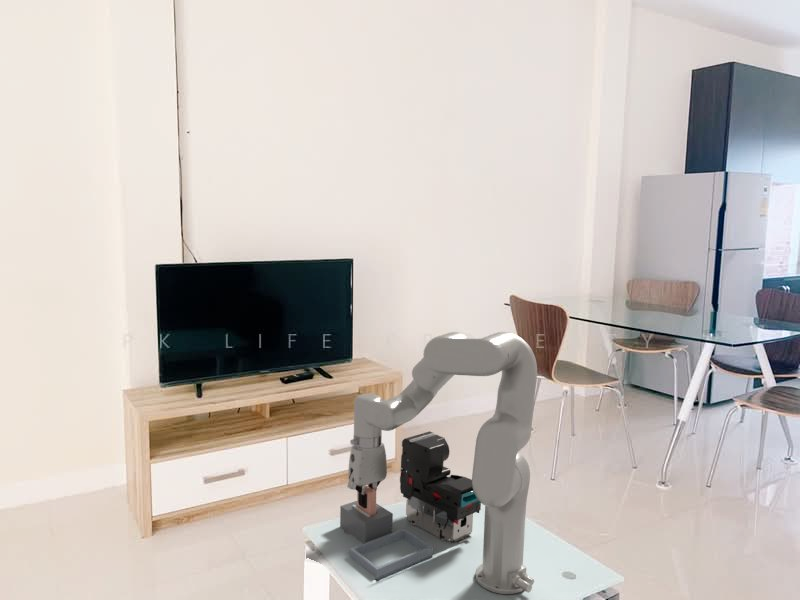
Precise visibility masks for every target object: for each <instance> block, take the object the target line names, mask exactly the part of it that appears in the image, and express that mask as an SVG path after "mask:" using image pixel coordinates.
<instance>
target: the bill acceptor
mask: <svg viewBox="0 0 800 600" xmlns="http://www.w3.org/2000/svg"><path fill="white" fill-rule="evenodd" d="M401 447H402V450H401V451H402V453H401V456H400V457H401V458H400V475H399V483H400V486H399V489H400V493H401V494H402V497H403V498H405V499H406V501H405V503H406V505H405V516H406V520H407V521H409V522H410V525H412V526H416V527H417V528H420V529H422V530H424V531H425V532H428V534H429V533H430V534H432V536H433V535H434V536H436V537H437V538H439V540H441V541H443V542H446V541H447V542H449V543H452V542H453V543H458V544H462V543H463V542H465V541H467V540H468V539H471V538H472V536H471V535H472V532H473V527H474V526H473V524H474V514H475V513H477V514H480V511H481V506H482V505H481V504H482V503H481V502H480V501H479V500H478V499H477V497H476V496H475V494H474V491H473V487H472V478H469V477H466V476H462V475H457V474H451V469H450V468H449V467H446V466H444V463H445V461H447V460H448V459H449V457H450V446H449V444H448V442H447V440H446V439H445V437H443V436H440V435H438V434H435V433H434V432H432V431H427V432H423V433H420V434H415V435H413V436H410V437H406V438H403V439H402V441H401Z"/></svg>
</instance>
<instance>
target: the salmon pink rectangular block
mask: <svg viewBox="0 0 800 600" xmlns="http://www.w3.org/2000/svg"><path fill="white" fill-rule="evenodd" d="M356 492H357V499H356V501H357V507H358V508H360V509H361V510H363V511H365V512H366V513H368V514H369V515H370V516H371V515H374V514H376V504H377V490H376V491H375V490H373V489H372V488H370V487H368V485H366V494H367V508H363V507H362V506H360V505H359V503H358V491H357V490H356Z"/></svg>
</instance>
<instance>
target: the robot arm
mask: <svg viewBox="0 0 800 600" xmlns="http://www.w3.org/2000/svg"><path fill="white" fill-rule="evenodd" d="M537 363H538V362H537V360H536V356H535V353H534V352H533V349H532V348H531V346H530V345H529V344H528V342H526V340H524V339H523V338H522V337H520V336H519V335H518V334H515V333H513V332H509V331H500V332H496V333H495V332H494V333H493V334H492V333H491V334H489V335H486V336H484V337H482V338H469V337H468V336H467V335H466V334H464V333H463V332H462V333H461V332H458V331H451V332H447V333H444V334H442V335H438V336H435V337H434V338H431V339H430V340H429V341H428V343H427V344H426V345H425V347H424V350H423V357H422V358H421V359H420V361H418V362H417V363H416V364H415V365H414V366H413V367H412V371H411V376H412V378H413V379H412V380H411V382H410V383H409V384H408V385H407V386H406V387H405V388H404V389H403V390H402V392H400V393H399V394H397V395H394V396H393V397H391V398H388V399H386V400H385V399H384V400H383V399H382V397H381V396H380V395H378V394H374V393H362V394H359V395H357V396H356V397H355V398H354V403H353V404H354V405H353V406H354V407H353V439H351V440H350V445H351V449H350V454H349V459H348V471H347V475H348V482H347V488H348V489H350V490H354V491H356V492H357V491H358V503H359V505H360V506H362V507H363V508H367V494H366V486H368V487H370V488H372V489H373V490H375V491H376V492H377V490H378V486H379V485H380V484H381V482H383V481H384V480H385V479H386V478H387V472H388V468H387V467H388V466H387V465H388V463H387V454H386V448H385V444H384V443H383V442H382V436H383V435H382V432H383V431H386V432H390V431H393V430H395V429H397V428H399V427H401V426H402V425H404V424H406V423H408V422H410V421H412V420H414V419H415V418H416V417H417V416H418V415H419V414H420V413H421V412H422V411H423V410H424V409H426V407H428V405H429V404H430V403H431V402H432V401H433V399H434V398H435V397H436V396H437V394H438V392H439V391H440V390H441V389H442V388H443V387H444V386H445V385H446V383H448V381H450V380H451V379H452V378H453V377H454V376H455V375H456V376H468V377H469V376H471V377H472V376H473V377H489V376H493V375H496V374H498V373H500V372H501V378H500V381H499V384H498V388H497V397H496V398H497V399H496V405H495V410H494V414H493V416H492V417H490V418H489V419H487V420H486V421H485V422H483V424H482V425H481V427H480V428H479V430H478V433H477V436H476V438H475V439H476V440H475V446H474V456H473V464H472V476H471V480H472V487H473V491H474V494H475V496H476V497H477V499H478V500H479V501H480V502H481V504H482V505H484V523H483V525H484V526H483V545H482V547H483V549H482V563H481V564H480V565H478V567H477V568H476V570H475V580H476V581H477V583H478V584H479V585H480V586H481V587H482V588H484V589H486V590H487V591H490V592H492V593H496V594H500V595H513V594H518V593H521V592H526V593H530V592H531V591H532V588H533V585H534V583H535V579H533V578H532V577H530V576H529V574H528V573H527V566H525V565H523V564H524V547H525V531H526V529H525V528H526V527H525V526H526V512H527V511H526V510H527V501H528V500H527V499H528V494H529V488H530V483H531V482H530V481H531V469H530V466H529V463H528V461H527V459H526V458H525V456H524V455H522V454H521V453H520V451H521V450H522V449H523V448H524V447H526V445H528V443H529V440H531V439H530V438H531V435H532V425H533V417H534V408H535V398H536V389H537V382H538V381H537V380H538V379H537V378H538V364H537Z"/></svg>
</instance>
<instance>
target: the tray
mask: <svg viewBox="0 0 800 600" xmlns="http://www.w3.org/2000/svg"><path fill="white" fill-rule="evenodd" d="M402 539H405V540H406V541H408V542H409V543H410V544H412V545H414V546H415V547H417V548H418V550H416V551H413V552H410V553H409V554H406V555H404V556H402V557H399V558H397V559H394V560H392V561H390V562H387V563H384V564H381V565H379V566H377V565H376V564H375V563H373V562H372V561H371V560H369V559H368V558H366V557H365V556H364V555H363V554H366V553H367V552H371V551H372V550H375V549H378V548H381V547H383V546H386V545H387V544H391V543H393V542H396V541H399V540H402ZM433 548H434V546H432V544H429V543H427V542H426V541H425V540H424V539H422V538H420V537H418V536H417V535H415V534H413V533H412V532H411V531H409V530H407V529H406V528H402V529H399V530H396V531H394V532H393V531H392V533H391V534H388V535H385V536H383V537H380V538H377V539H375V540H372V541H369V542H367V543H364V544H363V543H361V544H359V545H355V546H354V547H350V548H349V557H350V558H351V559H352V560H354V561H355V563H358V565H360V566H361V567H362V568H364V569H365V570H366V571H368V572H369V573H370V574H372V575H373V576H374V577H375V579H373V580H374V581H376V582H379V581H381V580H383V579H386V578H389V577H390V576H392V575H394V574H397V573H400V572H402V571H405V570H407V569H409V568H411V567H414V566H416V565H419V564H422V563H423V562H425V561H427V560H430V559H432V558H433V550H434V549H433Z"/></svg>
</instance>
